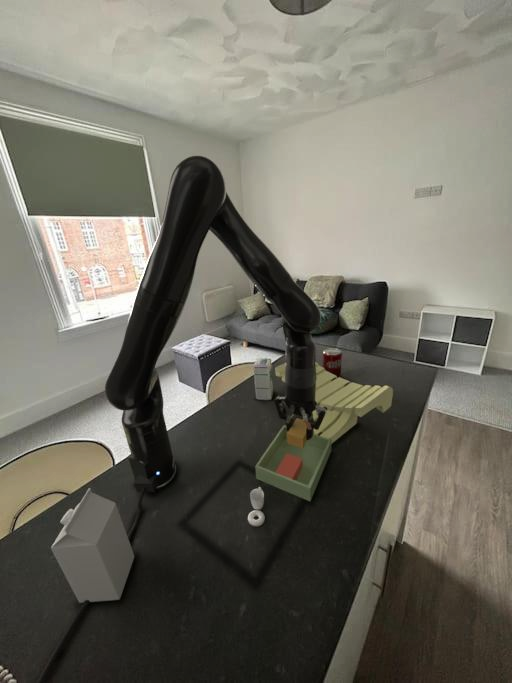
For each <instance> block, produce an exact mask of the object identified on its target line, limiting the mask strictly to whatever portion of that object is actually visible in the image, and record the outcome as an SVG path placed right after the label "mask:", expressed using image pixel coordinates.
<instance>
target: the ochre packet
mask: <svg viewBox="0 0 512 683" xmlns="http://www.w3.org/2000/svg"><path fill="white" fill-rule="evenodd" d="M306 428H307V426H306V423H305V422H304V420H302V419H301V418H298V417H297V418H296V419H294V424H293V425H292V427H291V428H290V430H289V431H288V433H287V443H288V444H291V445H294V446H297V447H300V448H303V447H304V446H305V444H306V442H307V440H306Z"/></svg>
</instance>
